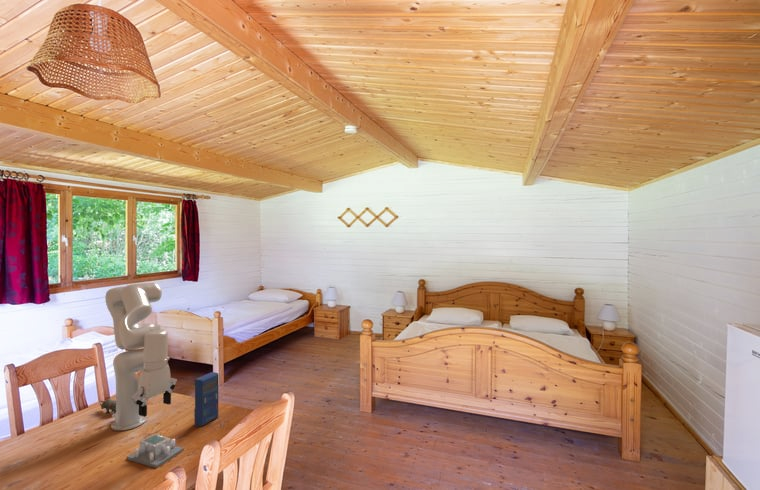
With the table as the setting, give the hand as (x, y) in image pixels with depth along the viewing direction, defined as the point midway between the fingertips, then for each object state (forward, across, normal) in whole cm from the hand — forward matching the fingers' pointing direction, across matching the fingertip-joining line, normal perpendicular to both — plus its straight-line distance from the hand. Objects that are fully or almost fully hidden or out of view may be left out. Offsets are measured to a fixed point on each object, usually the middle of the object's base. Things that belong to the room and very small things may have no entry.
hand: (155, 409), depth 131 cm
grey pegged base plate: (+17, 0, +1) cm, 17 cm away
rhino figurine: (+18, -17, -50) cm, 56 cm away
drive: (+16, 0, +1) cm, 16 cm away
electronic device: (+17, -26, -1) cm, 31 cm away
